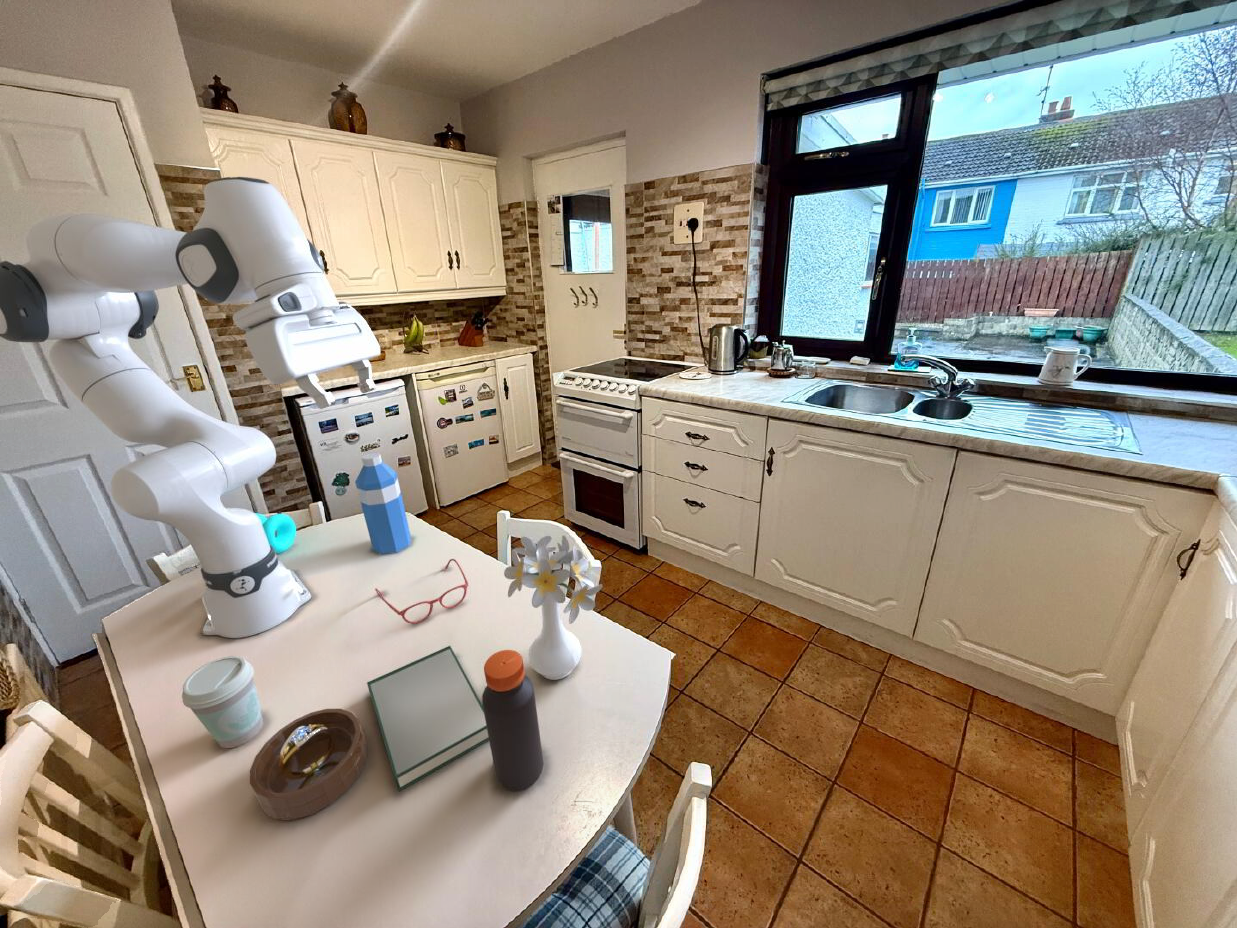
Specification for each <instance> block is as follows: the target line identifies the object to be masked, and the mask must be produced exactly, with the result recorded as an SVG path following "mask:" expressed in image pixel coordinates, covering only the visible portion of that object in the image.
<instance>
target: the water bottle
mask: <svg viewBox="0 0 1237 928" xmlns="http://www.w3.org/2000/svg"><path fill="white" fill-rule="evenodd" d="M361 461H362V465H363V466H362V467H361V470H360V471H359V474H358V475H357V478H356V479H355V481H354V482H355V487H356V490H357V494H358V498H359V502H360V505H361V509H362V512H363V516H364V520H365V524H366V528H367V531H368V535H369V539H370V543H371V547H372V550H373V551H374V552H376V553H378V554H380V555H387V554H388V555H389V554H394V553H398V552H400V551H402V550H404V549H405V548H407V547H409V546H410V545H411V541H412V535H411V532H410V526H409V523H408V517H407V514H406V509H405V505H404V501H403V496H402V491H401V487H400V483H399V482H400V481H399V479H398V473H397V470H394V469H393V468H392V467H390V466H389V465H388V464H386V463H385V462H384V461H383V460H382V456H381V453H379V452H369V453H366V454H363V455H362V457H361Z"/></svg>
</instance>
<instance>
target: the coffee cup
mask: <svg viewBox="0 0 1237 928" xmlns="http://www.w3.org/2000/svg"><path fill="white" fill-rule="evenodd" d="M254 673H255V668H254V666H253V665H252V664H251V663H250V662H249V661H247V660H246V659H244V658H243V657H241V656H237V655H230V656H224V657H220V658H217V659H214V660H212V661H210V662H207V663H205V664H204V665H202V666H200V667H199V668H198V669H196V670H195V671H193V672H192V673H191V674H190V675H189V676H188V677H187V678H186V680H185V681H184V683H183V685H182V693H181V700H182V704H183V705H184V706H185V707H186V708H188V709H190V710H191V712H192V713H193V714H194V715H195V717H196V718H197V719H198V720H199V721H200V722H201V724H202V725H203V727H204V728H205V729H206V730H207V732H208V733H209V735H211V736H212V738H213V739H214V740H215V742H216V743H217V745H219V747H220V748H223V749H234V748H237V747H240V746H242V745H244V744H246V743H248V742H249V741H250V740H252V739H253V738H254V737H256V735H258V733H259V732H260V731H261V730H262V728H263V726H264V718H263V713H262V709H261V703H260V700H259V697H258V696H259V695H258V692H257V687H256V685H255V680H254Z"/></svg>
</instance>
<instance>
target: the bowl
mask: <svg viewBox="0 0 1237 928" xmlns="http://www.w3.org/2000/svg"><path fill="white" fill-rule="evenodd" d="M316 724H322V725H326V726H328V727H329V728H330V729H331V730H332V731H333V733H334V734H335V736H336V746H335V749H334V752H333V754H332V755H331V757H330V758H329V760H328V761H327V762H326V763H325V764H324V765H323V766H322V767H321V768H320V770H319V771H318V772H316V773H312V774H310V775H308V776H306V777H304V778H301V779H296V780H290V779H287V778H285V777H284V776H283V774H282V773H281V770H280V768H279V756H280V752H281V750H282V747H283V746H284V744H285V742H286V741H287V739H288V738H289V736H290V735H291V734H292V733H293V731H294V730H296V729H297V728H299V727H301V726H309V725H316ZM309 734H310V733H309ZM309 734H308V735H309ZM328 745H329V737H328V735H327V734H326V733H319V734H317V735H315V736H314V737H312V738H311V739H310V740H309V741H307V742H306V743H305V744H303V745H302V746H301V747H300V749H299V750H298V751H297V752H296V754H295V755H294V756H293V758H292V759H291V761H290V763H289V766H288V771H291V772H299V771H302V770H305V769H307V768H309V767H310V765H311V764H313V763H314V762H318V761H319V760H320V759H321V758H322V757H323V755H324V754H325V752H326V751H327V748H328ZM295 746H296V745H295V744H294V745H293V746H292V747H289V749H288V751H287V754H288V753H289V752H290V751H291V750H292V749H293V748H294V747H295ZM287 754H286V755H287ZM367 755H368V745H367V740H366V738H365V735H364V731H363V729H362V726H361V722H360V720H359V718H358V717H357V716H356V715H355V714H354V713H353V712H352V711H349V710H346V709H344V708H324V709H319V710H316V711H311V712H309V713H306V714H305V715H303V716H300V717H297V718H295V719H294V720H293V721H291V722H289V723H288V724H286V725H285V726H283V727H281V728H280V729H279V730H278V731H276V733H275V734H274V735H273V736H271V737H270V738H269V739H268V740H267V741H266V742H264V744H263V746H262V747H261V749H260V750H259V751H258V752H257V753H256V755H255V757H254V759H253V761H252V764H251V766H250V769H249V785H250V787H251V790H252V792H253V794H254V796H255V798H256V800H257V801H258V804H259V806H260V808H261V809H262V810H263V812H264V814H265V815H267V816H269V817H271V818H273V819H275V820H279V821H281V820H282V821H286V820H297V819H301V818H304V817H307V816H308V817H309V816H311V815H313V814H316V813H317V812H319V811H321V810H322V809H325V808H326V807H328V806H330V805H332V804H333V802H335V801H337V799H339V798H340V797H341V796H342V795H343V794H344V793H346V792H347V791H348V790H349V789H350V787H352V785H353V784H354V782H356V780H357V779H358V778H359V776H360V774H361V773H362V770H363V768H364V766H365V764H366V762H367V761H366V760H367V757H368V756H367Z"/></svg>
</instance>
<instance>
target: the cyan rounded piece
mask: <svg viewBox="0 0 1237 928" xmlns="http://www.w3.org/2000/svg"><path fill="white" fill-rule="evenodd" d="M253 513H254V514H256V515H257V516H258V517H259V518H260V520H261V523H262V526H263V529H264V531H265V534H266V537H267V540H268V542H269V545H271V546H272V547H273V549H274V550H275V552H276V554H281V553H284V552H285V551H287V550H288V549H290V547H291V546H292V545H293V543H294V541H295V539H296V535H297V527H296V523H295V521H294V520H293V518H292V517H290V516H289V515H287V514H285V513H282V514H277V513H276V514H273V515H270V516H269V517H266V516H265V515H264V514H262V513H259V512H253Z"/></svg>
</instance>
